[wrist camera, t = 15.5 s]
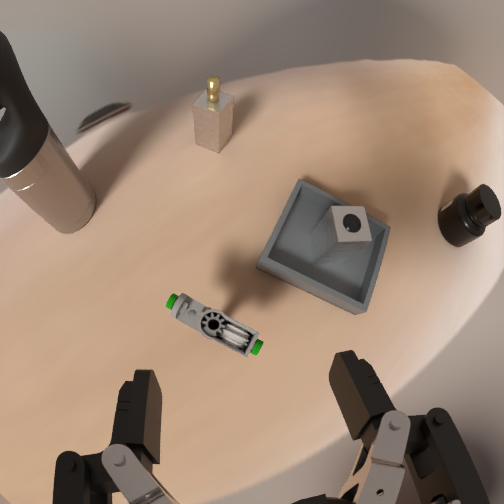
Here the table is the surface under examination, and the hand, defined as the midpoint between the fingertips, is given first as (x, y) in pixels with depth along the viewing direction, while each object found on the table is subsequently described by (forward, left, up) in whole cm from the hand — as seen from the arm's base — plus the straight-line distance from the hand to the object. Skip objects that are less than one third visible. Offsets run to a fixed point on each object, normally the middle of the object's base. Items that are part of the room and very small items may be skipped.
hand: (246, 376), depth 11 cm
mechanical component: (-3, +2, -25) cm, 26 cm away
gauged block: (-18, +29, -25) cm, 43 cm away
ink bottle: (+30, +37, -25) cm, 54 cm away
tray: (+6, +19, -25) cm, 32 cm away
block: (+6, +19, -25) cm, 32 cm away
